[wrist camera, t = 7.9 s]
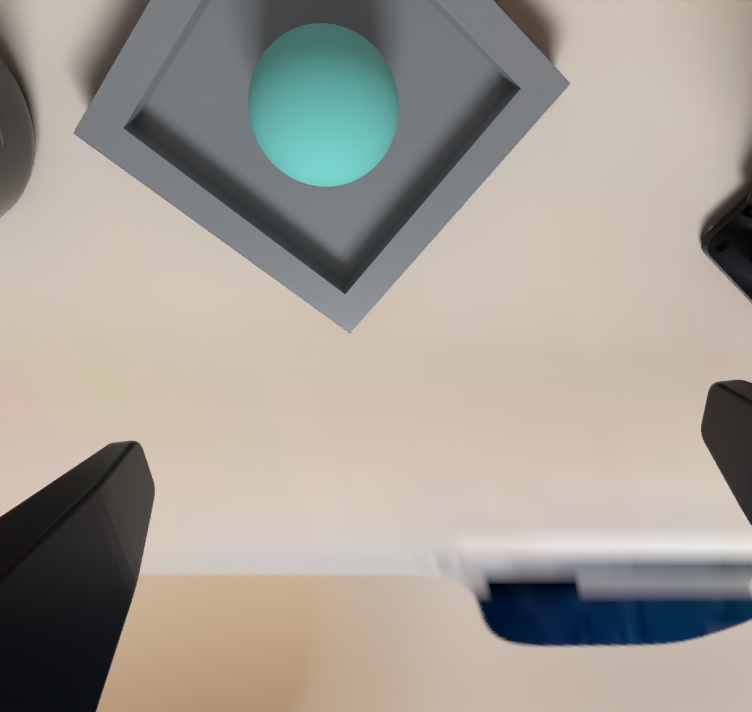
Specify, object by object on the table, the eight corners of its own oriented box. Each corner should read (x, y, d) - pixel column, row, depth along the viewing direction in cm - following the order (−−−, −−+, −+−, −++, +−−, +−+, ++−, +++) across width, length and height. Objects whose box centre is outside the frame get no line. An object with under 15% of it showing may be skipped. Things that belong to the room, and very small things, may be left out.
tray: (552, 81, 18) (570, 83, 17) (349, 314, 21) (349, 333, 20) (288, -201, 15) (282, -228, 13) (94, 127, 18) (73, 133, 16)
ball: (418, 94, 17) (442, 103, 14) (335, 199, 19) (338, 232, 15) (311, -8, 16) (307, -26, 13) (229, 113, 17) (204, 127, 14)
